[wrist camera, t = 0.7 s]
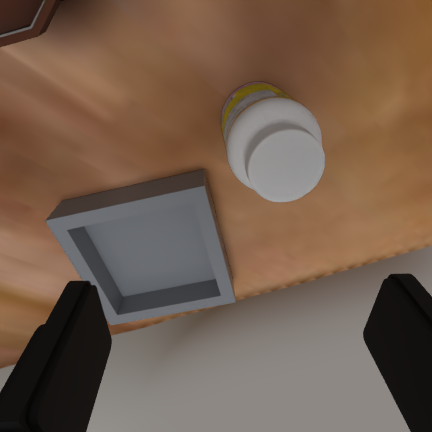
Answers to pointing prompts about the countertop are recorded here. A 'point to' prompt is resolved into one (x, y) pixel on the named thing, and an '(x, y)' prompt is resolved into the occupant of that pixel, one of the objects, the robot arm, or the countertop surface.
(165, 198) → the gray rectangular tray
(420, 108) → the countertop surface
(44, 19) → the ice cream bowl
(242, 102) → the supplement bottle
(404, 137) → the countertop surface
